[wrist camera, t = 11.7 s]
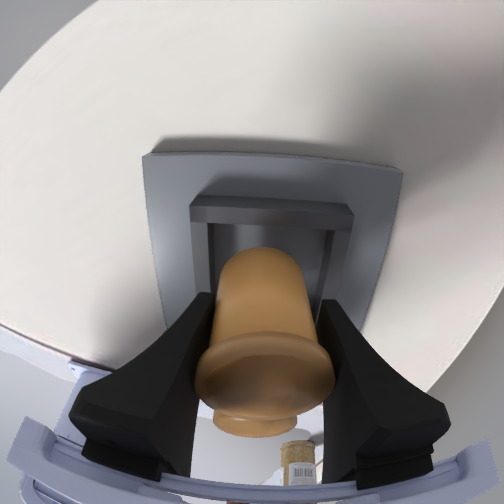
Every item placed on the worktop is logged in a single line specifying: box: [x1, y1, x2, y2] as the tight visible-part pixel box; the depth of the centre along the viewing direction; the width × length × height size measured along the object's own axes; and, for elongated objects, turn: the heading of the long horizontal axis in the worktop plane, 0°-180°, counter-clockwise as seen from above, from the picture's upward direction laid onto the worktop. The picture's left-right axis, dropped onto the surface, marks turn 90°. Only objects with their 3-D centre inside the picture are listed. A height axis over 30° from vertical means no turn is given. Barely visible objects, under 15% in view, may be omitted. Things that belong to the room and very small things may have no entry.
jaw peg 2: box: [213, 410, 297, 438], centre depth 16 cm, size 5×5×6 cm
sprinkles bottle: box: [280, 441, 317, 504], centre depth 25 cm, size 5×5×13 cm
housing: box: [142, 152, 403, 330], centre depth 17 cm, size 18×13×2 cm
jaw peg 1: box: [194, 247, 335, 421], centre depth 11 cm, size 5×5×6 cm
